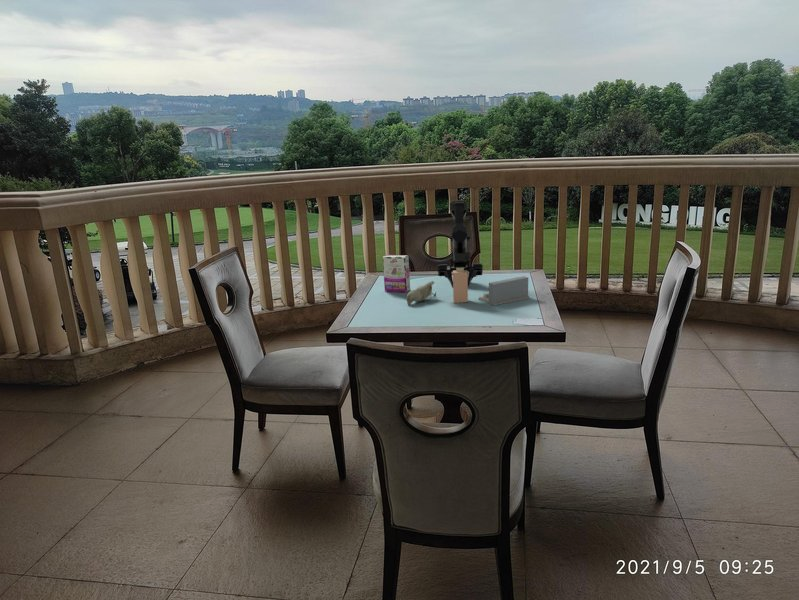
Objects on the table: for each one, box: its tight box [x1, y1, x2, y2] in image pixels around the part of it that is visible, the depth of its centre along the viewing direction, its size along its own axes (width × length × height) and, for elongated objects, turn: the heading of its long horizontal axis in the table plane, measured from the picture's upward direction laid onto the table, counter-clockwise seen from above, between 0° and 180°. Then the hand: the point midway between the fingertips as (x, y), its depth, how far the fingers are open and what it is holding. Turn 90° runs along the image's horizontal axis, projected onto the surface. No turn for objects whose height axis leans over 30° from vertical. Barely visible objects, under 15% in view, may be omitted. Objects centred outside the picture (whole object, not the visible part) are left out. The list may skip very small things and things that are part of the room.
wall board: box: [478, 275, 530, 306], centre depth 228 cm, size 11×18×9 cm, turn 117°
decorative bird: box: [406, 280, 437, 306], centre depth 231 cm, size 5×16×8 cm, turn 134°
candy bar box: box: [382, 254, 411, 293], centre depth 247 cm, size 11×5×16 cm, turn 68°
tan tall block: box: [452, 268, 469, 304], centre depth 227 cm, size 4×6×15 cm, turn 84°
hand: (460, 287), depth 225 cm, fingers closed on tan tall block, 6 cm apart
